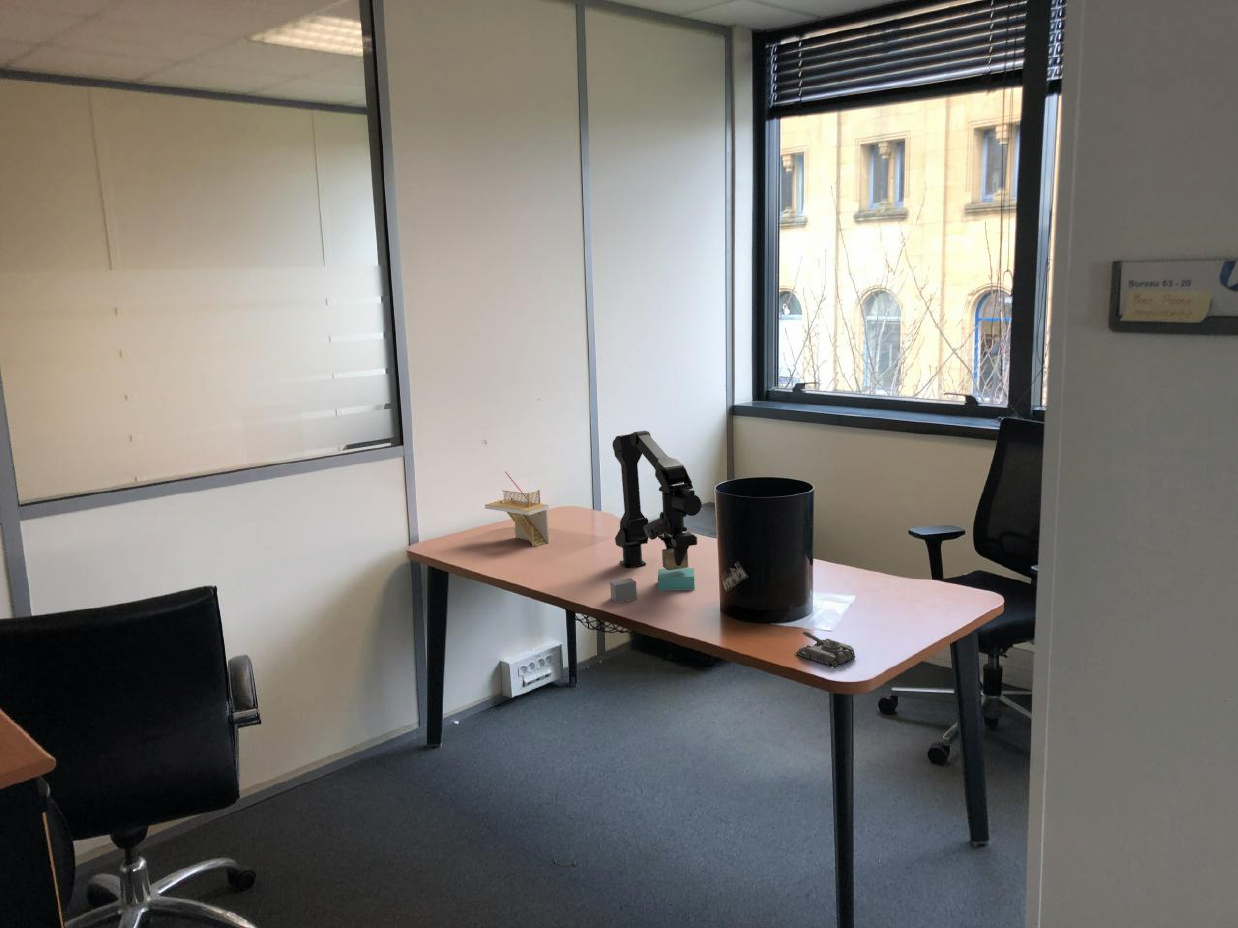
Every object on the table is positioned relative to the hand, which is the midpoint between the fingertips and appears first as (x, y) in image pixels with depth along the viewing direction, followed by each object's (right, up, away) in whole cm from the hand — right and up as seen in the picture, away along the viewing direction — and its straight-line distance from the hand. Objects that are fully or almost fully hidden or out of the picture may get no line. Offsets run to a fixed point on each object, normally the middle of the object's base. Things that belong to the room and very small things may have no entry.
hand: (675, 563), depth 268 cm
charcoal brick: (-14, -9, -8) cm, 19 cm away
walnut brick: (0, -1, 0) cm, 1 cm away
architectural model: (-47, +1, +55) cm, 72 cm away
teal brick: (0, -7, +1) cm, 7 cm away
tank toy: (+30, -16, -54) cm, 64 cm away
